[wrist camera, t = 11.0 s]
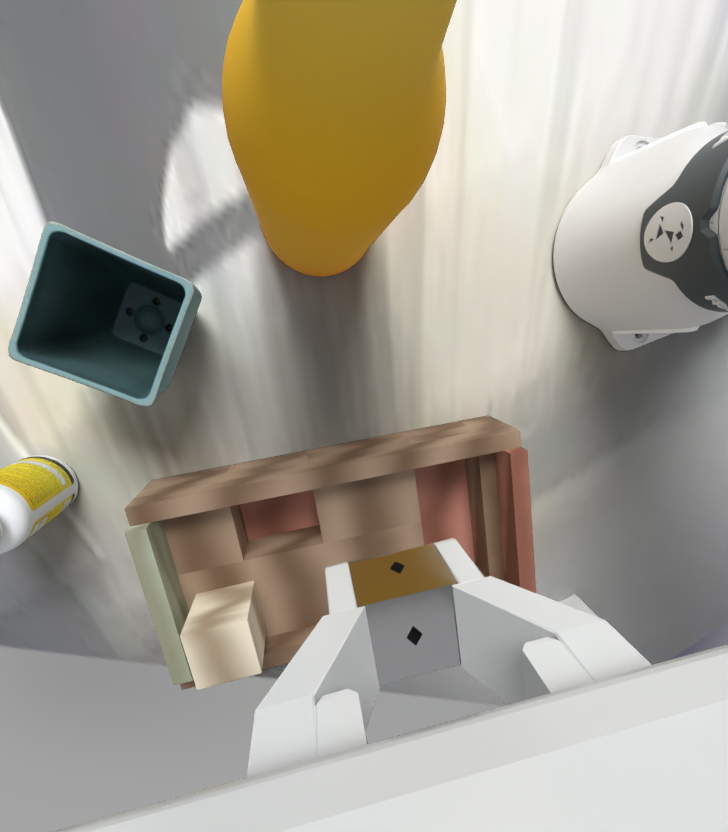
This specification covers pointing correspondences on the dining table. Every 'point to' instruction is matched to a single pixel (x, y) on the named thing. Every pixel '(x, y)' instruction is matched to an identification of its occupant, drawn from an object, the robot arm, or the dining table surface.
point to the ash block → (225, 635)
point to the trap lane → (328, 524)
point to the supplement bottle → (32, 497)
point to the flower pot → (102, 317)
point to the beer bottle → (333, 118)
